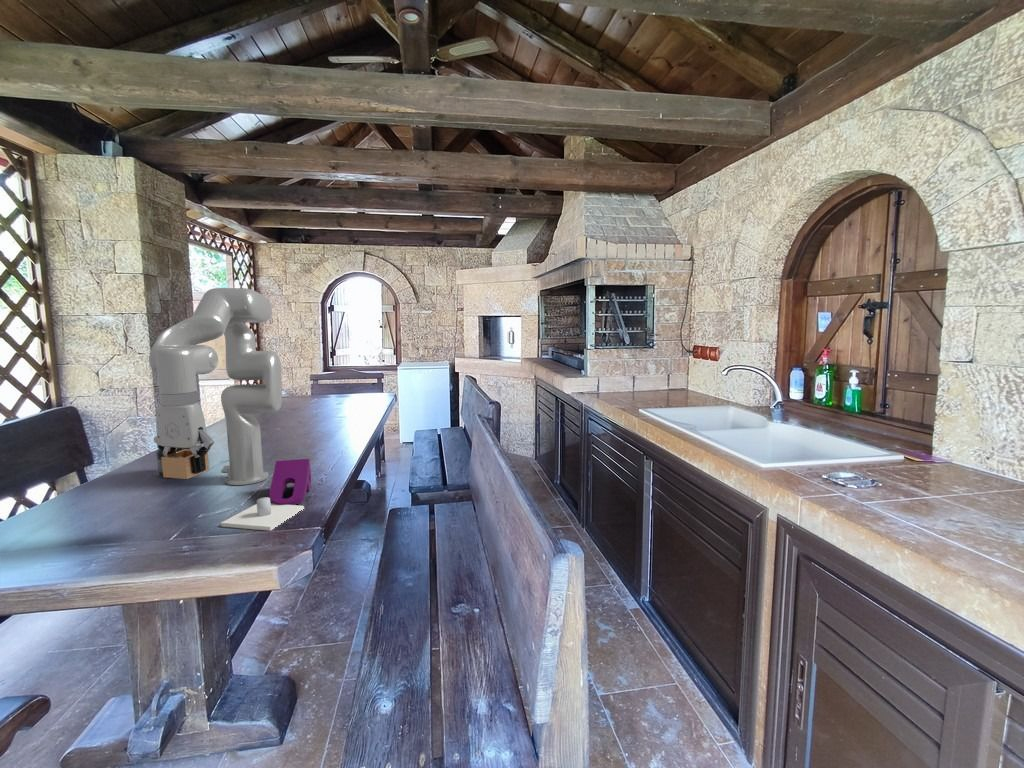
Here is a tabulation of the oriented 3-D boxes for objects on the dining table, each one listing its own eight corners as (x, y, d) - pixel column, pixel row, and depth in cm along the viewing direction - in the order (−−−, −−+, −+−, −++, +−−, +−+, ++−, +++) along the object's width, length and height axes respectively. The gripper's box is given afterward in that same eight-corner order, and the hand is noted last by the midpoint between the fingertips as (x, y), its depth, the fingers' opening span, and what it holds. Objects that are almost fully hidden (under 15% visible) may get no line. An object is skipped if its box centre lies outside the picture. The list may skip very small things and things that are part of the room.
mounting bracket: (306, 521, 139) (311, 478, 153) (303, 501, 134) (309, 458, 149) (271, 525, 136) (279, 481, 151) (266, 504, 132) (276, 461, 146)
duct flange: (221, 526, 121) (219, 507, 121) (259, 505, 135) (258, 488, 134) (270, 530, 119) (269, 511, 118) (304, 509, 132) (303, 492, 132)
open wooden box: (163, 477, 114) (161, 457, 113) (186, 468, 121) (184, 449, 120) (187, 478, 113) (185, 458, 112) (209, 469, 119) (207, 450, 119)
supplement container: (202, 472, 166) (199, 438, 164) (169, 480, 157) (165, 445, 155) (184, 467, 171) (182, 435, 169) (151, 476, 162) (148, 441, 160)
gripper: (134, 400, 112) (142, 474, 115) (198, 403, 109) (205, 478, 112) (162, 395, 119) (169, 464, 122) (223, 397, 116) (229, 468, 119)
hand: (186, 470), depth 117 cm, fingers closed on open wooden box, 6 cm apart
